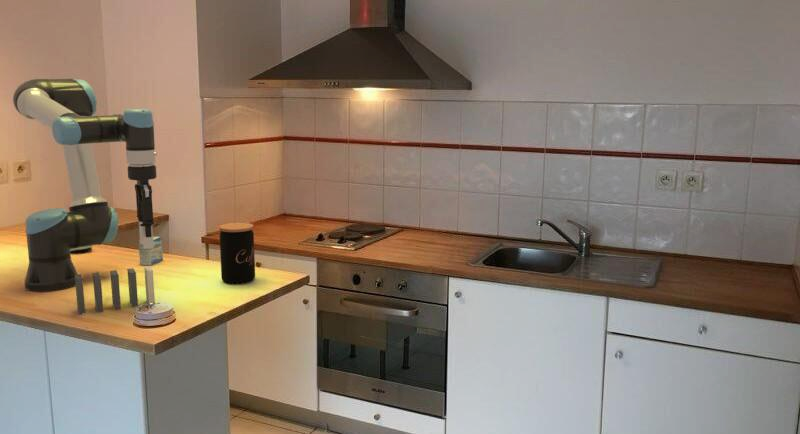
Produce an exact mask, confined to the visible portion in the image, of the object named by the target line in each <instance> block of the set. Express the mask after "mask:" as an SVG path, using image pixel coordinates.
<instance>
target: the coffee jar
mask: <svg viewBox="0 0 800 434" xmlns="http://www.w3.org/2000/svg"><path fill="white" fill-rule="evenodd" d="M253 229H254V224H252V223H249V222H229V223H223V224H221V225H219V231H220V232H219V248H220V249H219V250H220V251H219V252H220V272H221V274H220V275H221V280H222V281H223V283H225V284H227V285H238V286H239V285H245V284H249V283H252V282H253V281H254V279H255V278H256V262H255V261H256V260H255V257H256V256H255V236H254V235H255V234H254V231H253Z"/></svg>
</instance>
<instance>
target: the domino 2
mask: <svg viewBox="0 0 800 434" xmlns="http://www.w3.org/2000/svg"><path fill="white" fill-rule="evenodd" d="M92 280H93V283H92V284H93V294H94V305H95V310H96V312H97V313H99V312H104V303H103V288H102V277H101V273H100V272H99V271H97V272H92Z"/></svg>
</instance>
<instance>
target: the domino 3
mask: <svg viewBox="0 0 800 434" xmlns="http://www.w3.org/2000/svg"><path fill="white" fill-rule="evenodd" d="M109 272H110V273H109V274H110V276H109V277H110V284H111V285H110V286H111V287H110V288H111V298H112V305H113V308H114V310H121V309H122V302H121V291H120V278H119V273H118V271H117V269H115V270H110V271H109Z"/></svg>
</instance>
